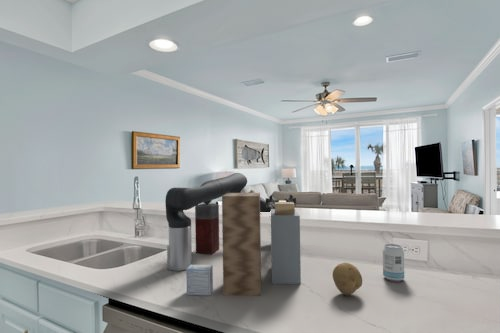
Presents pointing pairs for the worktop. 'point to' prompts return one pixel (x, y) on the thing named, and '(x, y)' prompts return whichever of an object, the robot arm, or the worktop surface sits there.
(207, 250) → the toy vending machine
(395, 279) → the beverage can
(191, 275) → the medicine box
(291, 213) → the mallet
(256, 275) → the tall pedestal
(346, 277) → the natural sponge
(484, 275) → the worktop surface
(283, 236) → the short pedestal
